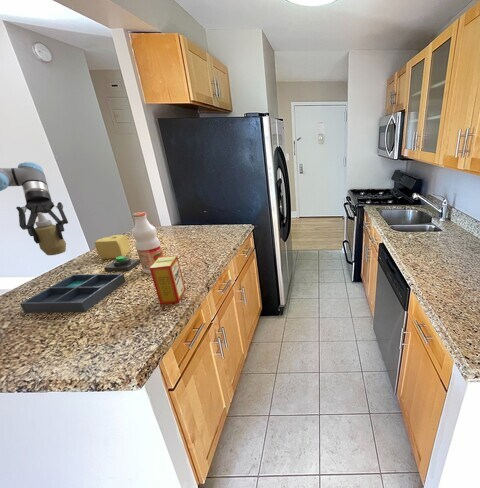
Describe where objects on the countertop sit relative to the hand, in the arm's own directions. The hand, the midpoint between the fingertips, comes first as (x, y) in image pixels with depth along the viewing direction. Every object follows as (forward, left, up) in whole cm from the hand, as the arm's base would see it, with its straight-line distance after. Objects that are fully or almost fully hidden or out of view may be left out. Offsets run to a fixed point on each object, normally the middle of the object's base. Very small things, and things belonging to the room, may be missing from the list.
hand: (49, 239), depth 107 cm
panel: (+15, +13, -20) cm, 28 cm away
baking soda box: (+53, -14, -20) cm, 59 cm away
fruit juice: (+32, +10, -20) cm, 39 cm away
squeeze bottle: (-2, +3, -7) cm, 8 cm away
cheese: (+1, +28, -20) cm, 35 cm away
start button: (+15, +13, -16) cm, 26 cm away
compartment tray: (+15, -12, -20) cm, 28 cm away
